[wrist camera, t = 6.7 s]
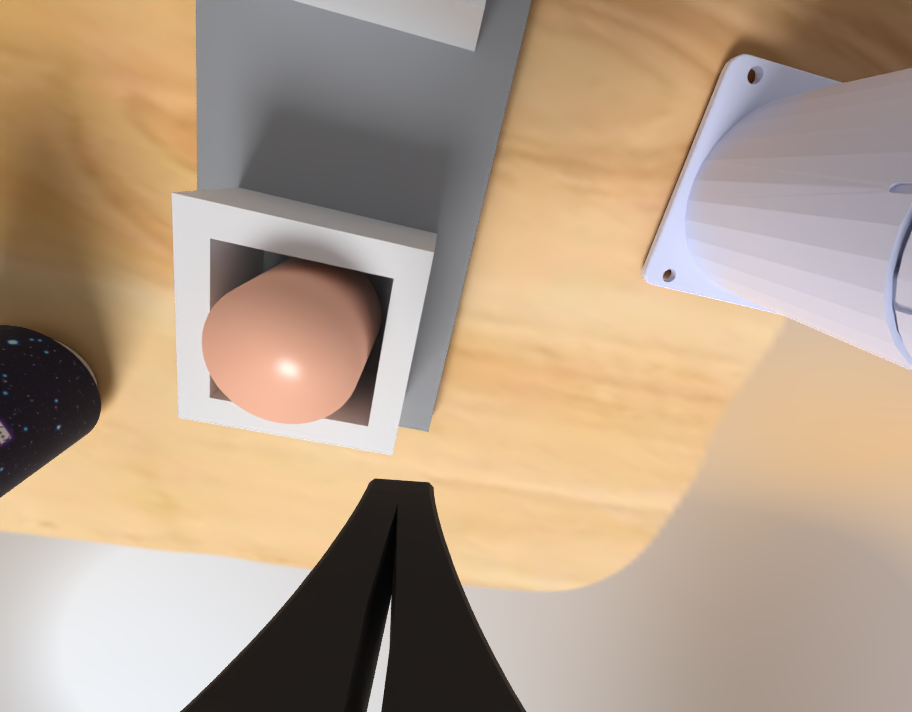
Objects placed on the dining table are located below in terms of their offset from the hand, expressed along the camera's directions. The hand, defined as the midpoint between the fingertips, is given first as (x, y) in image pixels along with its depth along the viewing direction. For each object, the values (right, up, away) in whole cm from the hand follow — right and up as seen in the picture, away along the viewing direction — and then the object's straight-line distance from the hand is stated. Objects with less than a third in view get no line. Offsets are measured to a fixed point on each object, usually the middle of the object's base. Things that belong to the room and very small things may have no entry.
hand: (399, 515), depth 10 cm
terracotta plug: (-4, +5, +6) cm, 9 cm away
